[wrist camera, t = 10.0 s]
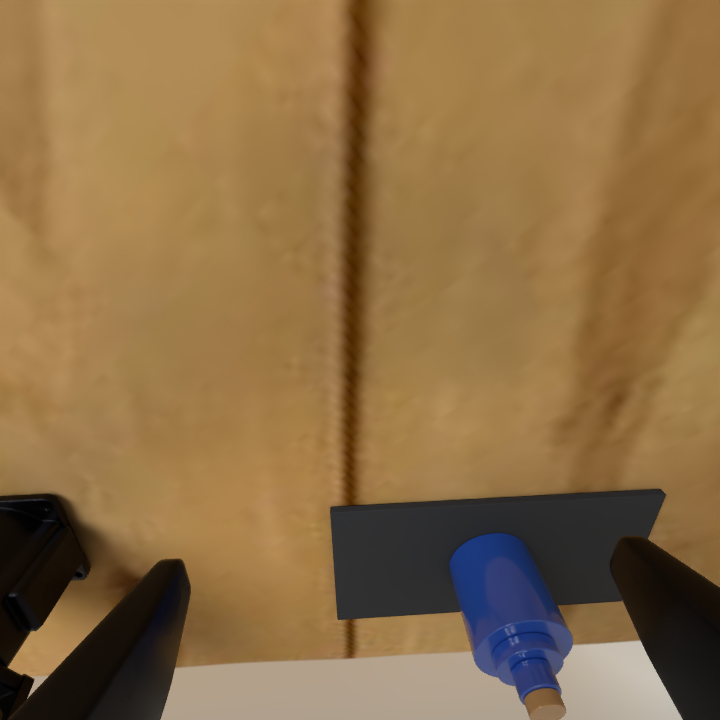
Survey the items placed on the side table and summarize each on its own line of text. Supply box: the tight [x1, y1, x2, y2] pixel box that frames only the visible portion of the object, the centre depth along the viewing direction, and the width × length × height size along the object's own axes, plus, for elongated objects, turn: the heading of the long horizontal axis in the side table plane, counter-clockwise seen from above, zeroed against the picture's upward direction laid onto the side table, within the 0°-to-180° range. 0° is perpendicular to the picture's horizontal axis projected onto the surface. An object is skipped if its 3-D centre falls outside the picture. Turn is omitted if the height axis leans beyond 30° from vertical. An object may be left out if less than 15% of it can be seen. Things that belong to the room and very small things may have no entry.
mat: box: [330, 489, 666, 620], centre depth 26 cm, size 20×10×1 cm, turn 91°
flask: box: [449, 533, 573, 720], centre depth 22 cm, size 5×5×8 cm
